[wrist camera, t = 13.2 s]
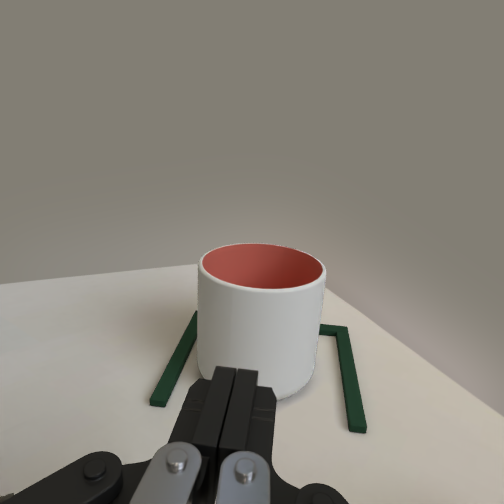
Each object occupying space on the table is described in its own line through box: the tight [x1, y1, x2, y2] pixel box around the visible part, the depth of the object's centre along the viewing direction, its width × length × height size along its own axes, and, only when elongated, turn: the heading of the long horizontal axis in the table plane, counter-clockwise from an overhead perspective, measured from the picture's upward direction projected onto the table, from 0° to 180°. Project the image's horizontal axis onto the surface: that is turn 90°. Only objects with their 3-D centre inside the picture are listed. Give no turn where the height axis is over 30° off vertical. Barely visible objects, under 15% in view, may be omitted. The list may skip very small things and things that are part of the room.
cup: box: [197, 243, 326, 400], centre depth 34 cm, size 10×10×10 cm
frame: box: [150, 311, 367, 433], centre depth 37 cm, size 16×14×1 cm
